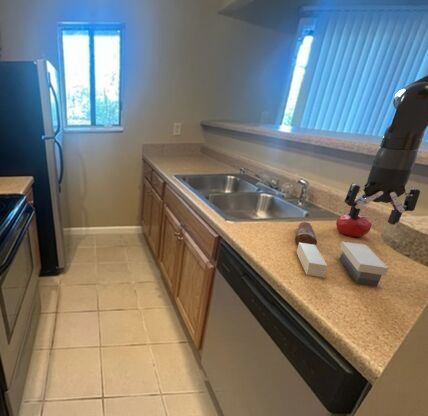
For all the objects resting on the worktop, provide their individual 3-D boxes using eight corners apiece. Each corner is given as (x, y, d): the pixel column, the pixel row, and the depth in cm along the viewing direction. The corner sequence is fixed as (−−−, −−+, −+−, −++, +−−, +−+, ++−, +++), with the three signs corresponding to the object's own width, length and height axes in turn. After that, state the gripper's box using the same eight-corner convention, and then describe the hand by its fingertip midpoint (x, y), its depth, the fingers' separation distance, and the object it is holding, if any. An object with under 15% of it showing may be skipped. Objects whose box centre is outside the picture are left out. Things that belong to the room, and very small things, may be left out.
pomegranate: (364, 242, 100) (372, 218, 97) (330, 233, 108) (337, 211, 104) (369, 234, 106) (377, 211, 103) (337, 226, 113) (344, 205, 110)
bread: (293, 246, 98) (296, 232, 96) (296, 228, 113) (299, 215, 111) (314, 251, 95) (318, 237, 93) (315, 231, 109) (319, 219, 107)
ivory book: (363, 251, 87) (365, 244, 86) (385, 275, 75) (388, 268, 74) (340, 248, 89) (342, 241, 88) (357, 271, 77) (360, 263, 76)
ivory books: (311, 254, 93) (314, 244, 92) (324, 277, 81) (328, 266, 80) (296, 252, 95) (299, 242, 93) (306, 274, 83) (309, 263, 81)
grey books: (356, 261, 88) (360, 250, 87) (377, 287, 77) (382, 275, 75) (339, 259, 90) (342, 248, 89) (356, 283, 78) (361, 271, 77)
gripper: (364, 166, 71) (346, 223, 77) (438, 170, 66) (413, 230, 72) (352, 161, 78) (336, 213, 84) (418, 164, 73) (396, 219, 79)
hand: (371, 221), depth 78 cm, fingers open, 8 cm apart
